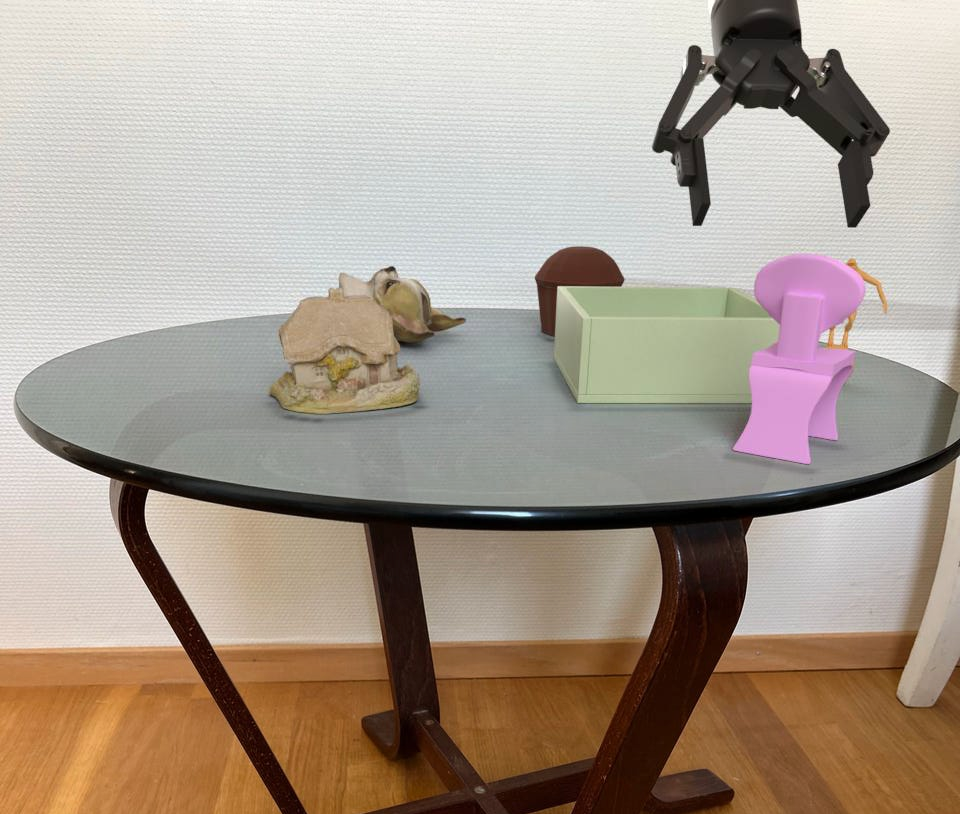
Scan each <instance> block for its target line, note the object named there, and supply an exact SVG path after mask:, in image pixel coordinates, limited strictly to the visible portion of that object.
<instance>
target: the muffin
mask: <svg viewBox="0 0 960 814" xmlns="http://www.w3.org/2000/svg"><path fill="white" fill-rule="evenodd" d="M534 281H535V284H536V289H537V290H536V291H537V299H538V309H539V320H540V329H541V333H543V334H547V335H549V336H551V337H555V326H556V306H557V287H558V286H564V287H565V286H592V287H623V285H624V283H625V276H624V275H623V273H622V271H621V269H620V267H619V265H618V264H617V262H616V261H615V259H614V258H613V257H612V256H611V255H609V254H608V253H607V252H606V251H604V250H602V249H599V248H597V247H593V246H583V245H581V246H580V245H579V246H577V245H576V246H575V245H574V246H568V247H565V248H561V249H559V250H558V251H556V252H554V253H553V254H551V255H550V256H549V257H548V258H547V259H546V260H545V261H544V262H543V264H542V265H541V267H540V268H539V270H538V271H537V272H536V274H535V275H534Z"/></svg>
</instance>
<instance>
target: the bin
mask: <svg viewBox="0 0 960 814" xmlns="http://www.w3.org/2000/svg"><path fill="white" fill-rule="evenodd" d="M779 329H780V325H779V323H778V322H777V321H775V320H774V319H773V318H772V317H771V316H770V315H769V314H768V312H767V311H766V310H765V309H764V308H763V307H762V306H761V305H760V304H759V303H758V301H757V299H756V298H755V297H753V296H751V295H749V294H747V293H745V292H743V291H741V290H739V289H737V288H736V287H721V286H720V287H719V286H718V287H714V286H713V287H711V286H710V287H709V286H707V287H706V286H705V287H704V286H699V287H698V286H621V287H592V286H565V287H564V286H558V287H557V306H556V326H555V336H554V346H553V347H554V349H553V360H554V361H555V363H556V365H557V368H558V370H559V371H560V373H561V375H562V376H563V377H562V378H564V380H565V382H566V384H567V386H568V388H569V389H570V391H571V393H572V395H573V397H574V399H575V401H576V402H577V404H752V394H751V387H750V381H749V370H750V367H751V362H752V356H753V354H754V353H756V352H758V351H761V350H764V349H766V348H768V347H770V346H771V345H772V344H774V343H776V342H778V337H779Z"/></svg>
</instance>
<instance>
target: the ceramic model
mask: <svg viewBox="0 0 960 814" xmlns="http://www.w3.org/2000/svg"><path fill="white" fill-rule="evenodd" d="M327 291H328V296H310V297H309V296H308V297H305V298H303V299H301V300H300V301H299V303H298V305H297V307H296V308H295V309H294V311H292V313H291V315H290V316H289V317H288V318H287V320H286V321H285V322H284V323H283V324H281V325H280V328H279V329H278V330H277V333H278V337H279V341H280V345H281V347H282V355H283V359H284V361H285V362H286V363H287V364H288V365H290V368H291V369H290V370H291V371H287V370H286V371H284V373H283V374H282V375H281V376H280V377H279V378H277V380H276V381H275V382H273V384H272V385H271V386H270V387H269V390H268V394H270V395H271V396H273V397H275V399H276V400H277V401H278V402H279V404H280V406H281V408H283V409H285V410H288V411H292V412H296V413H297V412H298V413H304V414H305V413H307V414H317V415H328V414H329V415H330V414H342V413H352V412H355V413H356V412H365V411H372V410H383V409H384V410H385V409H389V408H396V407H403V406H407V405H410V404H413V403H415V402H417V401H418V396H419V394H420V392H419V391H420V387H421V386H420V385H421V379H420V378H419V376H420V375H419V373H417V372H416V371H415V369H414V368H413V367H412V366H411V365H409V364H405V365H403V366H399V367H398V364H399V363H398V354H400V352H401V345H400V343H399V341H397V340H396V338H395V337H394V333H393V321H392V318H391V316H390V315H389V313H388V311H387V310H385V309H383V308H382V307H381V306H379V305H378V304H377V303H376V301H375V300H374V298H372V297H368V296H365V295H361V296H360V295H352V296H347V297H345V296H344V293H343V288H342V287H339V286H338V287H337V288H336V287H335V288H333V287H329V288H328V290H327Z"/></svg>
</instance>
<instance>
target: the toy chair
mask: <svg viewBox="0 0 960 814" xmlns="http://www.w3.org/2000/svg"><path fill="white" fill-rule="evenodd" d="M866 289H867V288H866V283H865V281H864V280H863V278H862V277H861V276H860V275H859V274H858V273H857V272H856V271H855V270H853V269H852V268H851V267H849V266H847V265H846V263H844V262H842V261H839V260H838V259H835V258H833V257H829V256H826V255H823V254H813V253H794V254H789V255H785V256H781V257H780V258H777V259H774V260H772V261H770V262H769V263H767V264H765V265H764V266H763V267H761V269H760V270H759V271H758V272H757V274H756V276H755V280H754V285H753V293H754V294H753V295H754V299H756V300H757V301H758V303H759V304H760V305H761V306H762V307H763V308H764V309H765V310H766V311H767V312H768V314H769V315H770V316H771V317H772V318H773V319H774V320H775V321H777V322H778V323H779V325H780V329H779V337H778V342H776V343H774V344H772V345H771V346H770V347H768V348H766V349H764V350H761V351H758V352H756V353H754V354H753V356H752V362H751V367H750V370H749V381H750V387H751V394H752V403H751V410H750V414H749V417H748V421H747V423H746V425H745V427H744V429H743V431H742V433H741V434H740V436H739V438H738V440H737V441H736V443H735V444H734V446H733V447H732V451H735V452H739V453H744V454H749V455H756V456H761V457H766V458H772V459H778V460H782V461H788V462H793V463H798V464H804V465H810V464H811V463H812V457H811V451H810V443H809V437H812V438H818V439H823V440H824V439H825V440H829V441H830V440H831V441H838V439H839V434H838V427H837V412H836V411H837V402H838V398H839V395H840V392H841V390H842V388H843V386H844V384H845V382H846V381H847V380H848V379H849V377H850V376H851V375H850V373H851V371H852V368H853V362H854V361H855V356H856V350H851V349H849V350H844V349H828V348H825V347H819V341H820V338H821V336H822V334H824V333H825V332H826V331H828V330H830V328H832V327H834V326H838V325H841V324H843V323H845V320H846V319H848V317H849V316H850V315H852V314H853V313H854V312H855V311H857V310H856V309H858V308H859V307H860V305H861V304H862V302H863V300H864V298H865V295H866ZM849 375H850V376H849ZM848 376H849V377H848Z"/></svg>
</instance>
